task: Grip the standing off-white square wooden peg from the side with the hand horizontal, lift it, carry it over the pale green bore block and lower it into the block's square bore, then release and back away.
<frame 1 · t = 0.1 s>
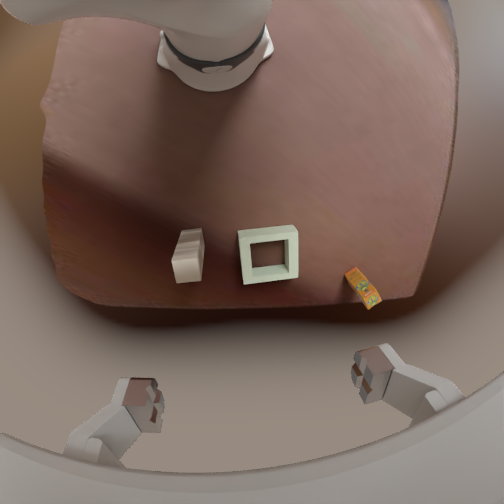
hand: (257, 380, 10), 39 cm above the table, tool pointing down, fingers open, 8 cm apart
bore block: (266, 250, 51), on the table
supplement box: (351, 274, 56), on the table
peg: (193, 238, 48), on the table
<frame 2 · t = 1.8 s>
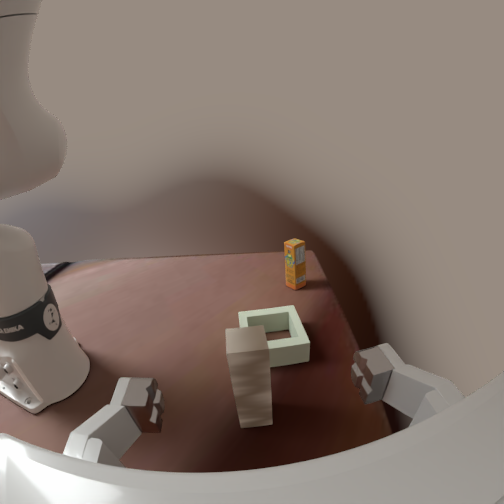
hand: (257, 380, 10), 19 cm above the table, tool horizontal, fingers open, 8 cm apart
bore block: (271, 344, 40), on the table
supplement box: (295, 286, 58), on the table
peg: (255, 414, 28), on the table
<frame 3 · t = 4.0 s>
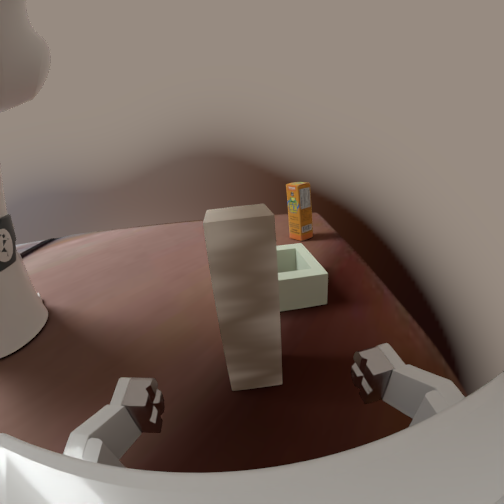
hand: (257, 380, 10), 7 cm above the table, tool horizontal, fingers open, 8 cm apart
bore block: (275, 288, 32), on the table
supplement box: (300, 239, 49), on the table
peg: (254, 371, 19), on the table
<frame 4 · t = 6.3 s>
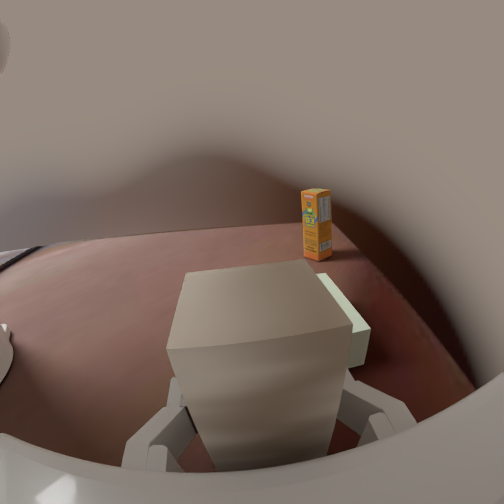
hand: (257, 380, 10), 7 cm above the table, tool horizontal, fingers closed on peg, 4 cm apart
bore block: (294, 338, 23), on the table
supplement box: (317, 258, 41), on the table
peg: (271, 482, 11), on the table, touching gripper
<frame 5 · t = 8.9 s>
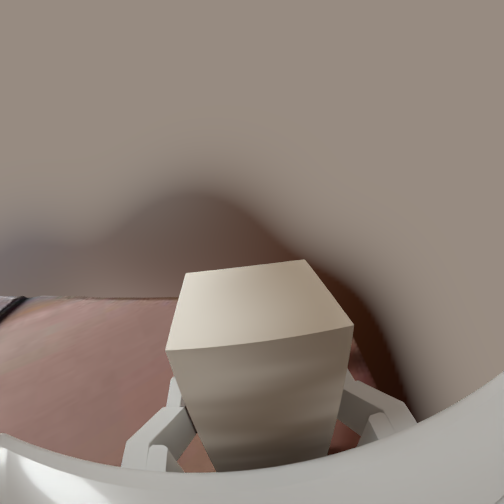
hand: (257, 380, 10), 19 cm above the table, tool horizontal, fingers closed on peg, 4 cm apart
peg: (271, 483, 11), point 12 cm above the table, touching gripper
when the fingers open (9 cm above the table, at t = 11.3 s): peg drops 2 cm, resting in bore block.
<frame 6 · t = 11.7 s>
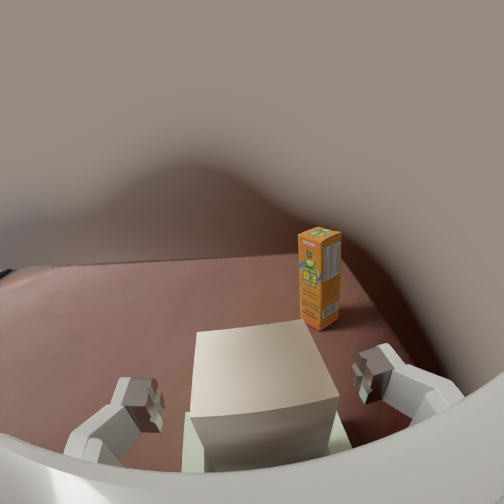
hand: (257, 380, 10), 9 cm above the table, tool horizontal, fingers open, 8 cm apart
bore block: (271, 493, 11), on the table
supplement box: (318, 322, 29), on the table
peg: (271, 492, 11), resting in bore block
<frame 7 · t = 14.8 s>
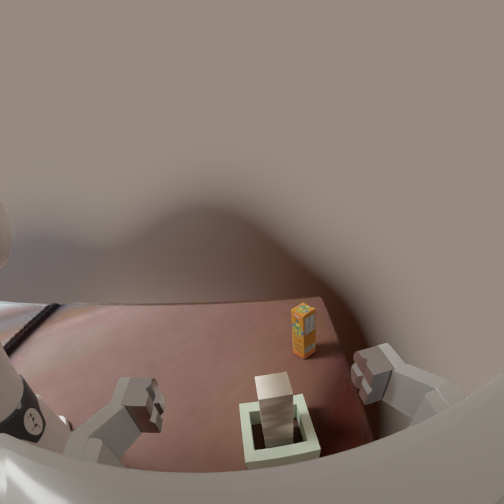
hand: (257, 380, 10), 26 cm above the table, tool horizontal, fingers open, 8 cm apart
bore block: (277, 439, 31), on the table
supplement box: (303, 353, 48), on the table
peg: (277, 439, 31), resting in bore block
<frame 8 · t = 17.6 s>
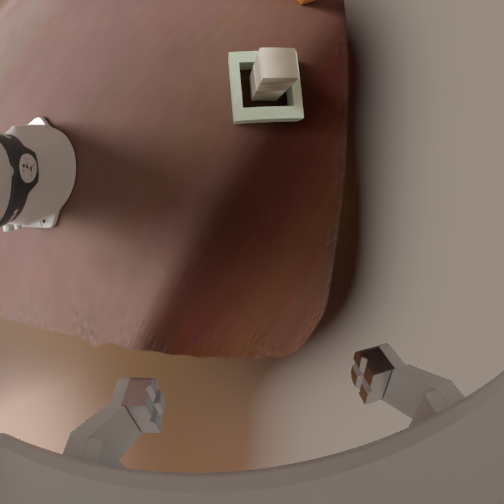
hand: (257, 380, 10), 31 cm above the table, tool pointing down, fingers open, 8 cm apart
bore block: (262, 89, 34), on the table
peg: (262, 89, 34), resting in bore block
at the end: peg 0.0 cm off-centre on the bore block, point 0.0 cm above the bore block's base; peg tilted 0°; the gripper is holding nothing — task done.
